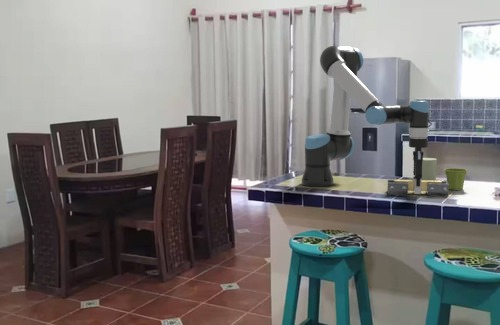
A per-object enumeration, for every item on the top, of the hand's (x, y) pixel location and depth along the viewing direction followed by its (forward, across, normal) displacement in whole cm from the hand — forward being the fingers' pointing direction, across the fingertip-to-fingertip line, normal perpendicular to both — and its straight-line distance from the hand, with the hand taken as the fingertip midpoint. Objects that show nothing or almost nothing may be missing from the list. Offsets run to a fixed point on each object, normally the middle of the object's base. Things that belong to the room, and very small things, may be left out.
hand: (417, 192), depth 216 cm
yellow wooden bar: (-1, 0, 0) cm, 1 cm away
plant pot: (+1, +13, -17) cm, 21 cm away
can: (+1, +27, -6) cm, 28 cm away
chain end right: (+1, 0, -8) cm, 8 cm away
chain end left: (0, 0, +8) cm, 8 cm away
